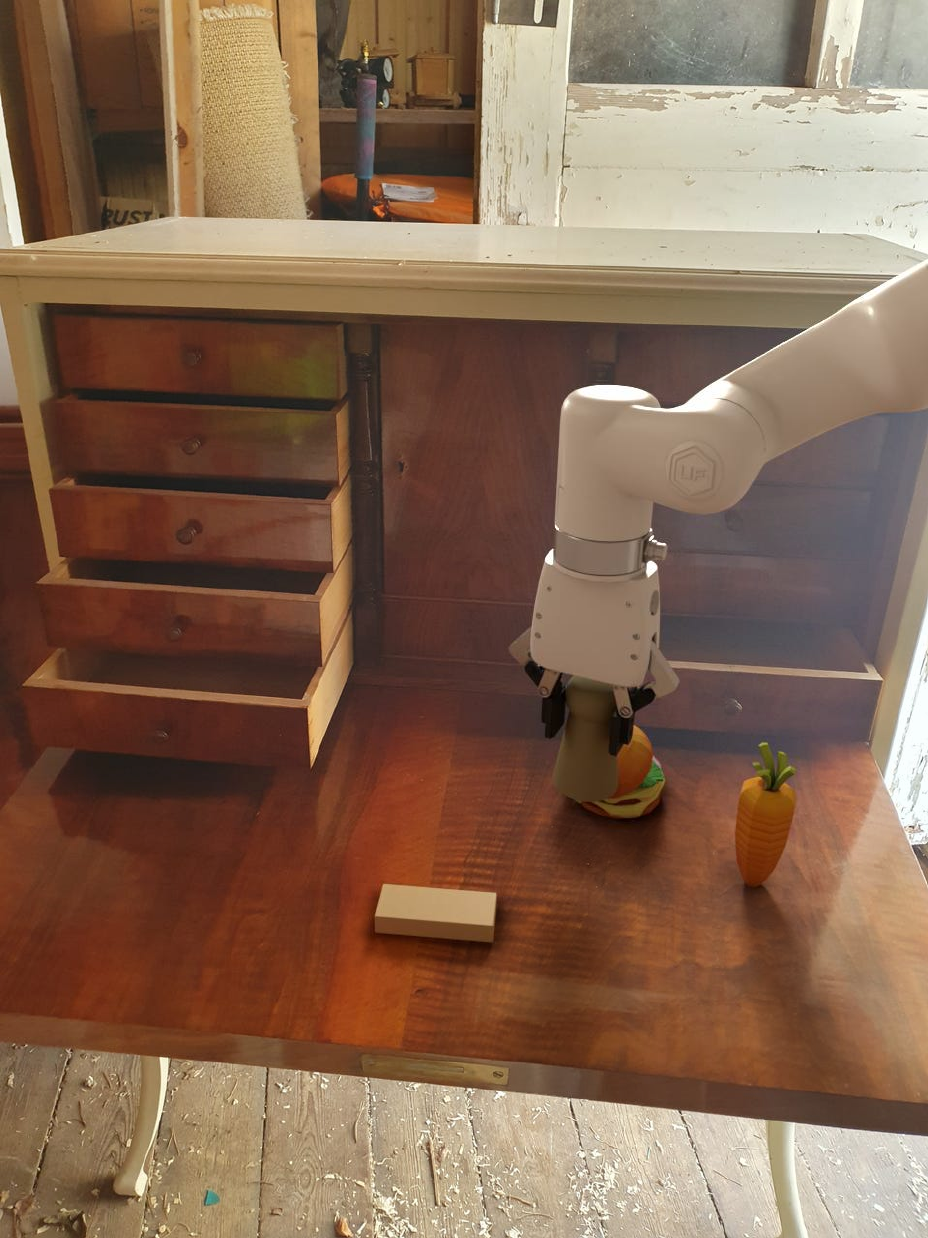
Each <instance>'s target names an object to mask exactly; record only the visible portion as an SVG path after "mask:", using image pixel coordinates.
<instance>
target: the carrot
mask: <svg viewBox="0 0 928 1238" xmlns="http://www.w3.org/2000/svg"><path fill="white" fill-rule="evenodd" d="M757 746H758V749H759V752H760V755H761V758H762V760H763V763H764V767H765V769H764V768H763V767H762V765H761V764H760V762H757V761H754V762H752V766H753V768H754V769H755V771H756V775H757V776H755V777H752V778H748V779H746V780H744V781H743V783H742V785H741V788H740V789H741V790H740V794H739V797H738V804H737V812H736V819H735V831H734V842H735V843H734V846H735V856H736V859H735V860H736V864H737V867H738V870H739V873H740V875H741V877H742V880H743V882H744V883H745V884H746V885H747V886H748V887H752V888H756V887H760V886H761V885H762V884H763V883H764V882H765V881H767V880H768V879H769V877H770V876H771V875H772V874H773V872H774V871H775V870H776V867H777V866H778V864H779V861H780V860H781V858H782V855H783V853H784V850H785V848H786V845H787V842H788V839H789V835H790V831H791V827H792V822H793V819H794V814H795V809H796V801H797V792H796V791H795V790H794V789H793V788H792V787H791V786H789V785H788V784H787V783H786V782H787V781H788V780H789V779H790V778H791V777H793V776H794V775H795V774H796V772H797V769H796V768H795V767H794V766H792V765H789V766H787V764H788V755H787V754H786V753H785V752H784V751H777V759H776V760H777V761H776V762H777V763H776V768H775V763H774V758H773V755H772V751H771V749H770V746H769V744H768V742H761V743H760V744H758V745H757Z"/></svg>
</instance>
